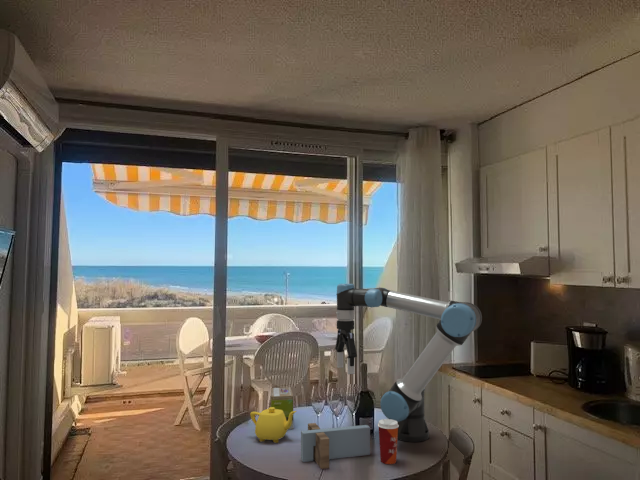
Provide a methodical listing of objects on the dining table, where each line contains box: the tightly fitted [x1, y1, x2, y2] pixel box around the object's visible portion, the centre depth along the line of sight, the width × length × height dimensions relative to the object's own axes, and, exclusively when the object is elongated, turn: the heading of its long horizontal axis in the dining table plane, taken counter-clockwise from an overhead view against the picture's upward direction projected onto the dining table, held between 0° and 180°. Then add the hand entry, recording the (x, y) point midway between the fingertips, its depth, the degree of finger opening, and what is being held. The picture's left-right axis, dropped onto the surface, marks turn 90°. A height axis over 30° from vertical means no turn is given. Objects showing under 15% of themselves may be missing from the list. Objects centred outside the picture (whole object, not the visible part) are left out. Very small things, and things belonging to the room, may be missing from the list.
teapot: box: [249, 406, 297, 444], centre depth 194 cm, size 13×20×12 cm
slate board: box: [300, 424, 371, 463], centre depth 175 cm, size 26×3×10 cm, turn 106°
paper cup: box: [377, 418, 399, 465], centre depth 171 cm, size 8×8×14 cm
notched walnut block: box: [307, 422, 330, 470], centre depth 173 cm, size 18×3×10 cm, turn 16°
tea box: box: [270, 386, 294, 430], centre depth 212 cm, size 15×10×15 cm, turn 6°
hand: (345, 370), depth 199 cm, fingers open, 13 cm apart
